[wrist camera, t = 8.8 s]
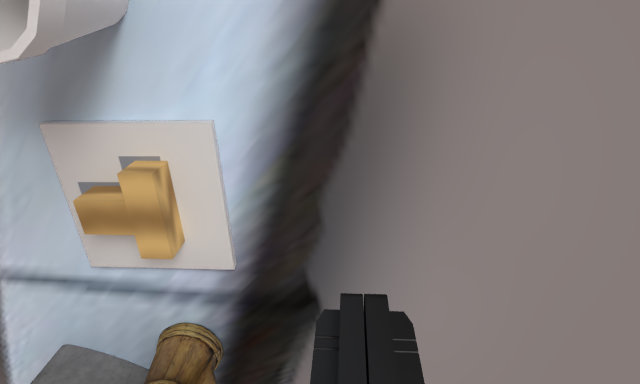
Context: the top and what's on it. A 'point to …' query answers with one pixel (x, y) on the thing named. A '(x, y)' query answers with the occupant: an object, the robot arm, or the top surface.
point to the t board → (186, 173)
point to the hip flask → (89, 368)
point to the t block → (136, 209)
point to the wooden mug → (185, 356)
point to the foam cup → (51, 23)
